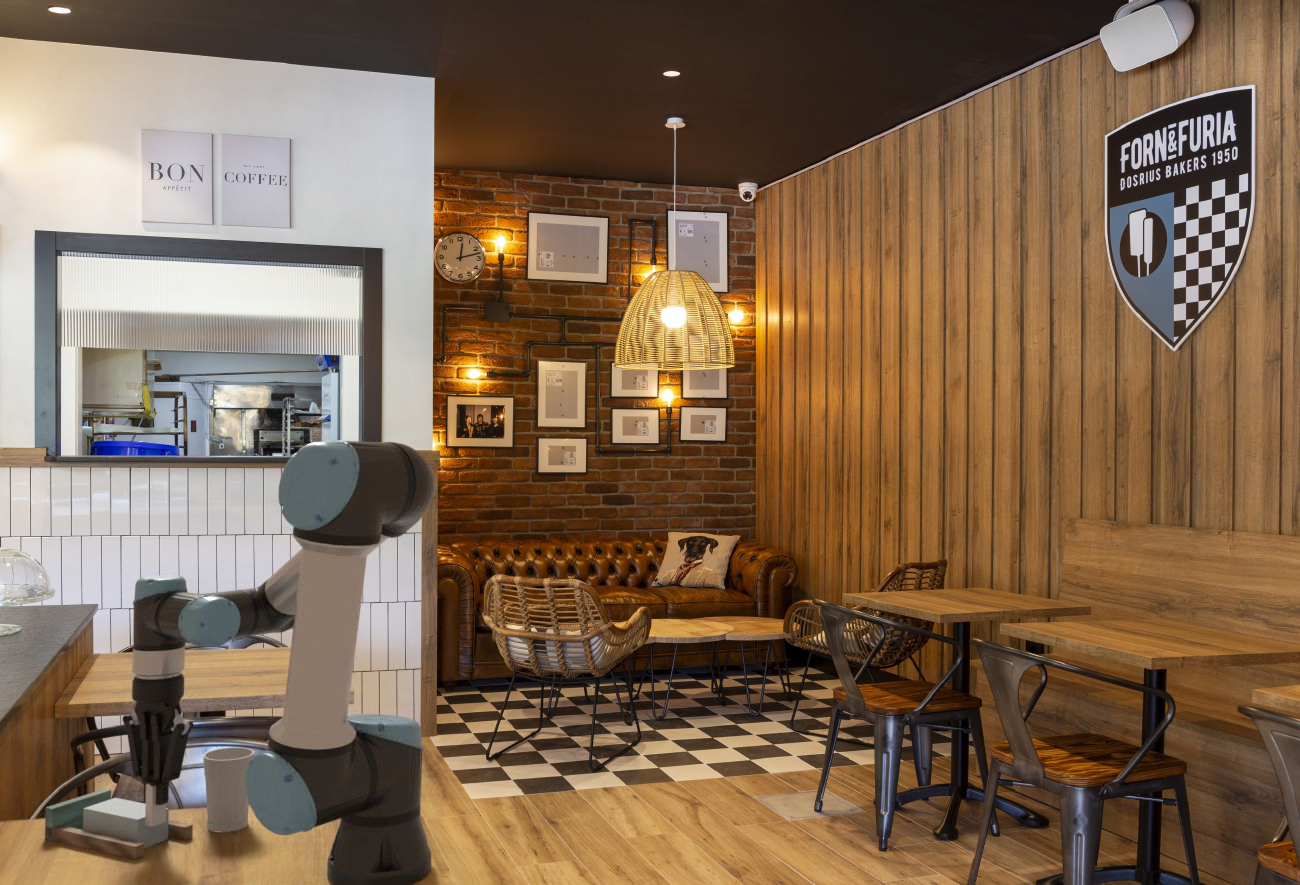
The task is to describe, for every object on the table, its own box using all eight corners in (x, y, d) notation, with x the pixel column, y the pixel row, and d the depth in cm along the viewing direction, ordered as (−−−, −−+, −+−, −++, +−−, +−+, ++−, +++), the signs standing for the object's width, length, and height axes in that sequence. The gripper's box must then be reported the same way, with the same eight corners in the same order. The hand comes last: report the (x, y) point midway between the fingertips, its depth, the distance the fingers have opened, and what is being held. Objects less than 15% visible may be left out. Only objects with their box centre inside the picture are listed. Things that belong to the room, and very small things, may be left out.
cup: (203, 820, 184) (205, 748, 185) (254, 816, 187) (255, 745, 187) (199, 836, 177) (201, 762, 177) (251, 831, 179) (253, 758, 179)
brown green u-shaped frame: (192, 837, 176) (193, 806, 176) (135, 859, 166) (136, 827, 166) (104, 818, 184) (104, 788, 184) (44, 839, 174) (45, 807, 174)
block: (168, 839, 175) (168, 808, 175) (136, 851, 170) (137, 819, 170) (114, 828, 180) (115, 797, 180) (82, 839, 175) (83, 808, 175)
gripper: (208, 674, 173) (204, 823, 173) (148, 666, 178) (145, 810, 178) (169, 682, 166) (166, 838, 166) (109, 674, 172) (105, 824, 171)
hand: (155, 823), depth 172 cm, fingers closed
